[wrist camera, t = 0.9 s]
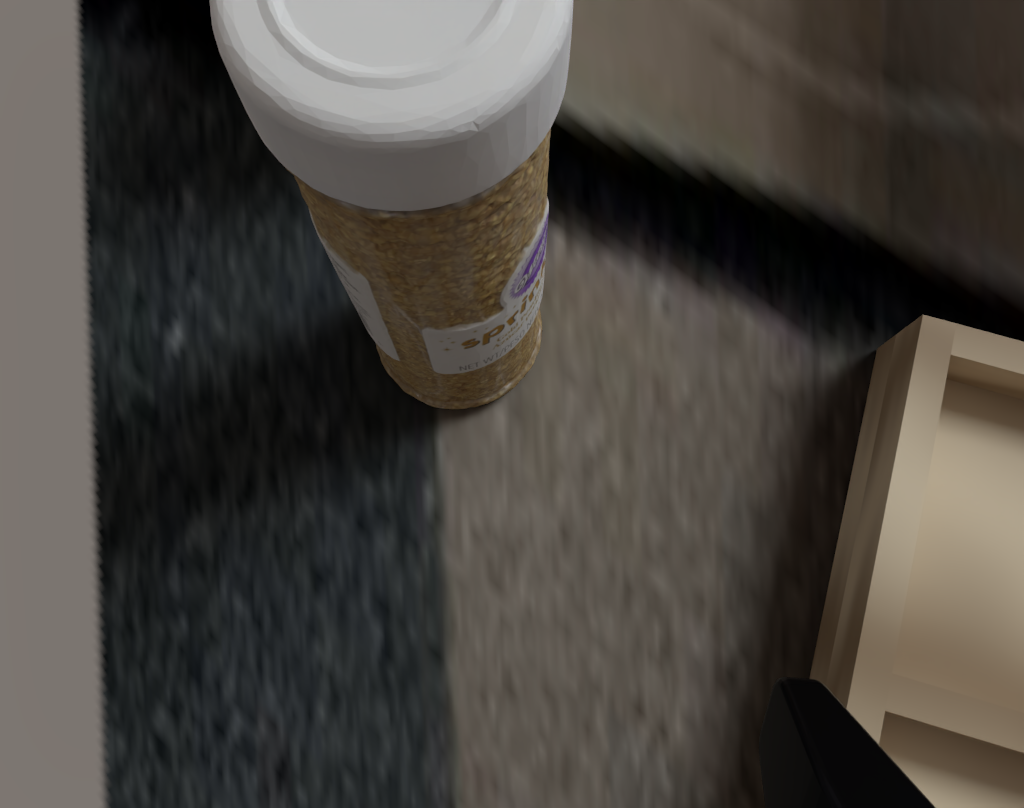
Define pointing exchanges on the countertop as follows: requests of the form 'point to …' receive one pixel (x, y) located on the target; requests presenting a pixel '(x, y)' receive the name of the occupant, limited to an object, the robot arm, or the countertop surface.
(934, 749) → the caddy
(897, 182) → the countertop surface
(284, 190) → the countertop surface
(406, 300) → the sprinkles bottle
